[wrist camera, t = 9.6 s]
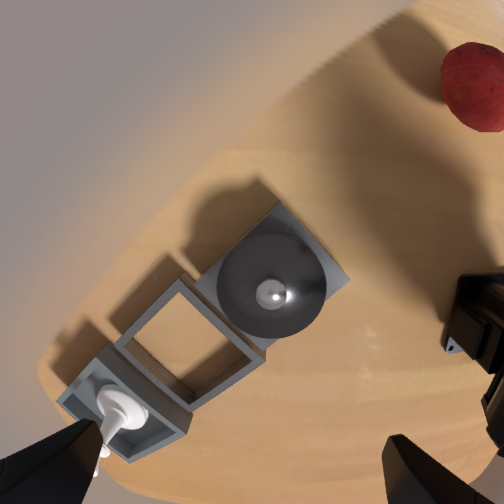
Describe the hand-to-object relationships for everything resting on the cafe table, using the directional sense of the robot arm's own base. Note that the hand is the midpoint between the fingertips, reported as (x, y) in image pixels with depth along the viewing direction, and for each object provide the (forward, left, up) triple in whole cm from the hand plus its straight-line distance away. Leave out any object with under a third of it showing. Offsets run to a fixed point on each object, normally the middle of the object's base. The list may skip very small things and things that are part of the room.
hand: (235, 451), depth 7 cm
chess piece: (+12, +11, -13) cm, 20 cm away
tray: (+12, +11, -13) cm, 21 cm away
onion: (-14, -14, -13) cm, 24 cm away
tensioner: (+2, +1, -13) cm, 13 cm away
